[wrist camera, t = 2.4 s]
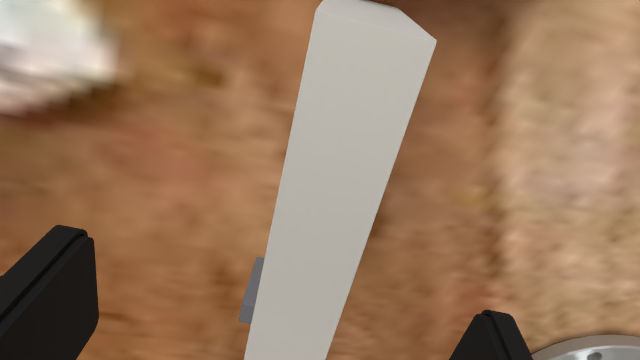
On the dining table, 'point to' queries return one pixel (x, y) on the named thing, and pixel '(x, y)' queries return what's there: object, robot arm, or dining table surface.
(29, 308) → the robot arm
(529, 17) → the dining table surface
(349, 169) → the door panel
